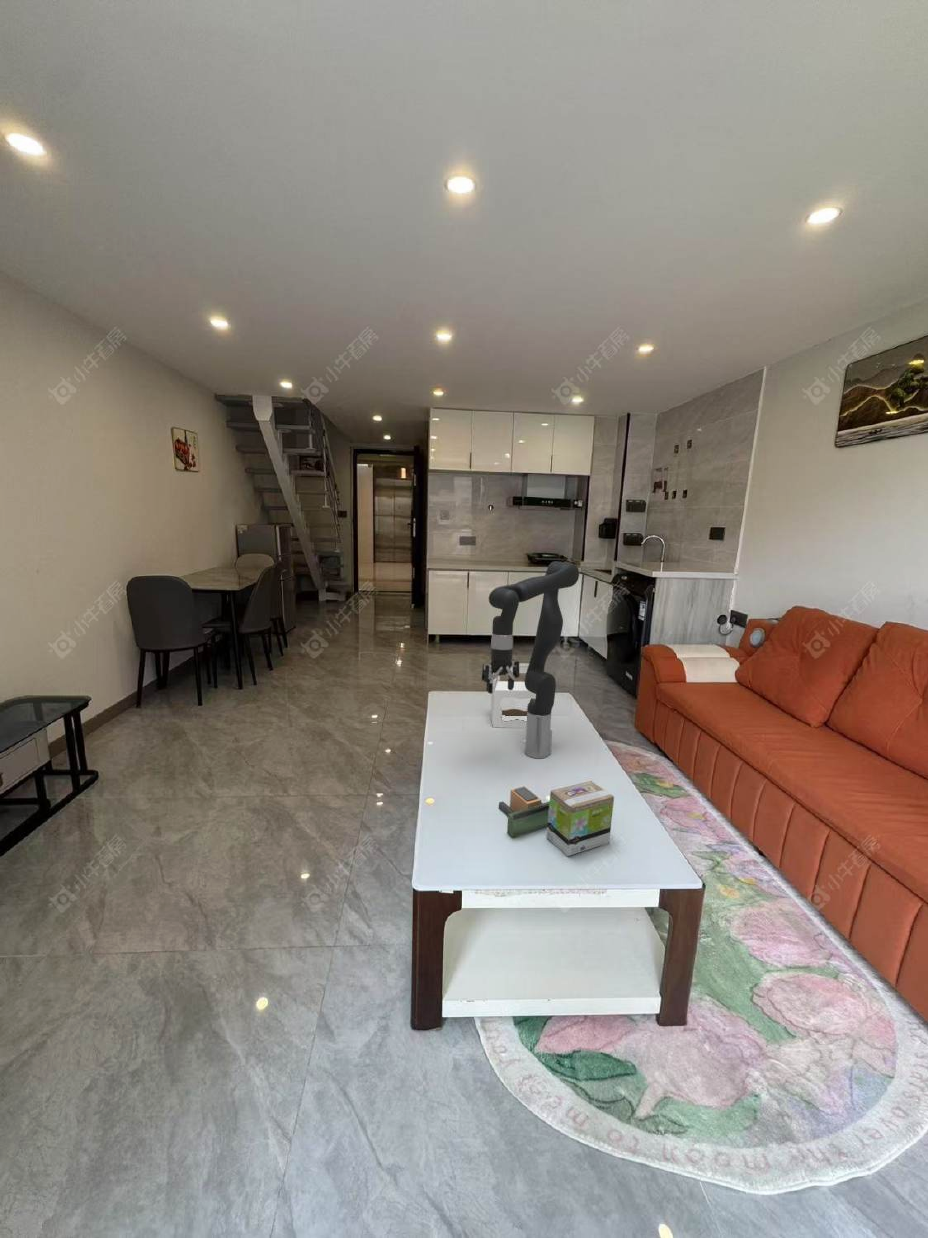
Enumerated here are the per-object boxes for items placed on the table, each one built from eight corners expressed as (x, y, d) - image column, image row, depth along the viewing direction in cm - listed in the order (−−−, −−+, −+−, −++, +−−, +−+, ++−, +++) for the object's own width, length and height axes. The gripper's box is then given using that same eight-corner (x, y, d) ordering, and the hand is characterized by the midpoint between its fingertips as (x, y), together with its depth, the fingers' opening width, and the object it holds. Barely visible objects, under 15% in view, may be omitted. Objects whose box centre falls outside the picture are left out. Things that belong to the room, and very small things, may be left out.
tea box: (568, 858, 133) (572, 807, 130) (545, 838, 142) (548, 789, 139) (610, 843, 140) (615, 795, 137) (586, 824, 149) (590, 778, 146)
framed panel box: (522, 803, 159) (523, 784, 158) (540, 818, 152) (541, 798, 150) (509, 807, 157) (510, 788, 156) (526, 822, 149) (527, 802, 148)
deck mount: (541, 795, 164) (543, 775, 163) (573, 819, 151) (574, 797, 150) (485, 812, 153) (485, 790, 152) (513, 839, 140) (514, 816, 139)
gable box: (492, 728, 219) (494, 666, 215) (490, 716, 232) (492, 658, 228) (542, 729, 220) (545, 667, 215) (537, 717, 233) (540, 659, 228)
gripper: (512, 642, 179) (510, 685, 182) (478, 645, 172) (477, 691, 175) (525, 646, 172) (522, 691, 175) (490, 650, 165) (488, 697, 168)
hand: (500, 691), depth 175 cm, fingers open, 8 cm apart
